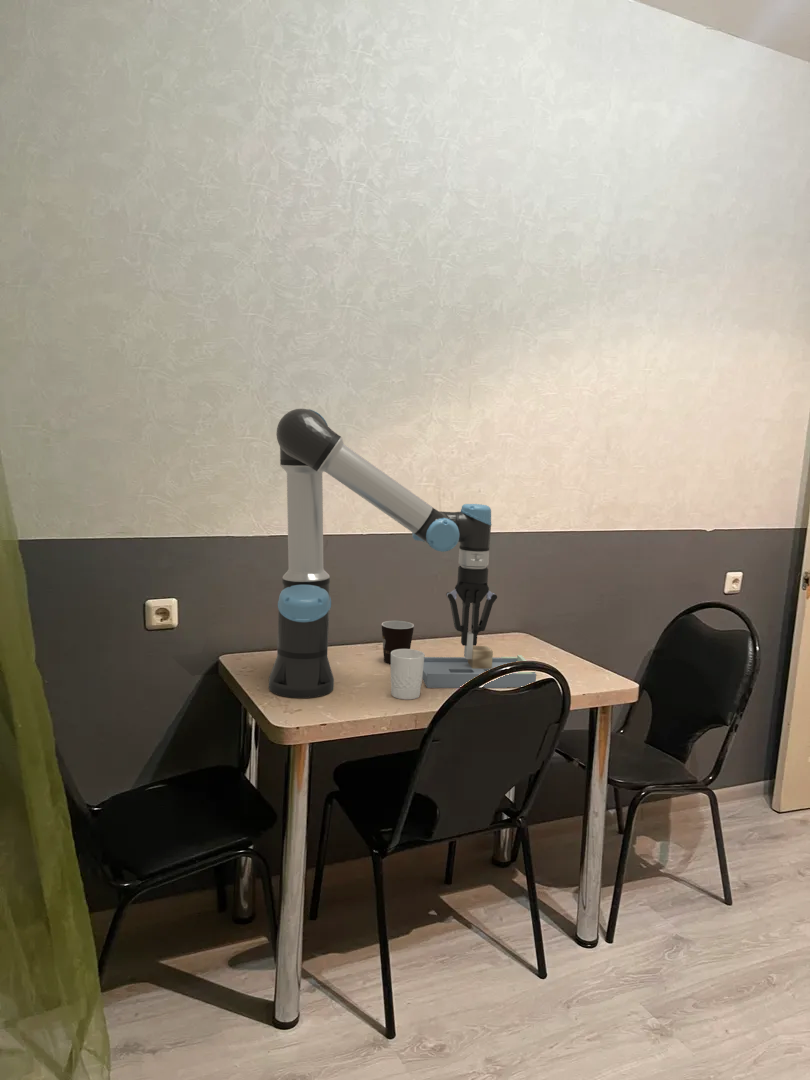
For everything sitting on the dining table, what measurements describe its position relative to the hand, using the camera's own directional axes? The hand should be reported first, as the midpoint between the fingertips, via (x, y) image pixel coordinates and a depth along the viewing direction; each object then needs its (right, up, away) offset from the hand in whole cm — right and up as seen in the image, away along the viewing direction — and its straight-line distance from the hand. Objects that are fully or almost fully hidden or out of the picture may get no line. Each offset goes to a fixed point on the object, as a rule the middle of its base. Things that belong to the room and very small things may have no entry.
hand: (467, 657), depth 205 cm
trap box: (+2, -5, -2) cm, 6 cm away
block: (+3, -2, +1) cm, 4 cm away
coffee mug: (-18, -2, +11) cm, 21 cm away
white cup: (-16, -6, -17) cm, 24 cm away
